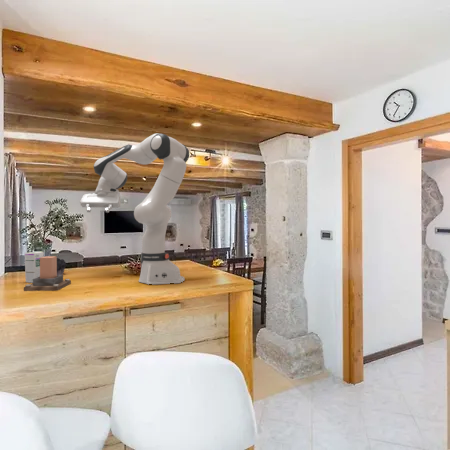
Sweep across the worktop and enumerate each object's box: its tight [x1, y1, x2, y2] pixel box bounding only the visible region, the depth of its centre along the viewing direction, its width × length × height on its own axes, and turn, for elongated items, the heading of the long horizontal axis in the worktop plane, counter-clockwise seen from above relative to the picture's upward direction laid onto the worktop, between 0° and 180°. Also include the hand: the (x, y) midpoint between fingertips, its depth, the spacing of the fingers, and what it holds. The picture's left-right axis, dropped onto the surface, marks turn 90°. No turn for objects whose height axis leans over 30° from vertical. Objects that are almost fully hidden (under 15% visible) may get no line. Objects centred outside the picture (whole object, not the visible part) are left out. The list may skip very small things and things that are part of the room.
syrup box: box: [24, 250, 45, 284], centre depth 155 cm, size 6×6×14 cm
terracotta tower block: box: [40, 255, 58, 279], centre depth 144 cm, size 5×5×12 cm
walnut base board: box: [23, 274, 72, 292], centre depth 144 cm, size 14×14×4 cm
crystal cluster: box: [57, 257, 67, 275], centre depth 172 cm, size 13×14×10 cm
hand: (97, 211), depth 165 cm, fingers open, 8 cm apart
